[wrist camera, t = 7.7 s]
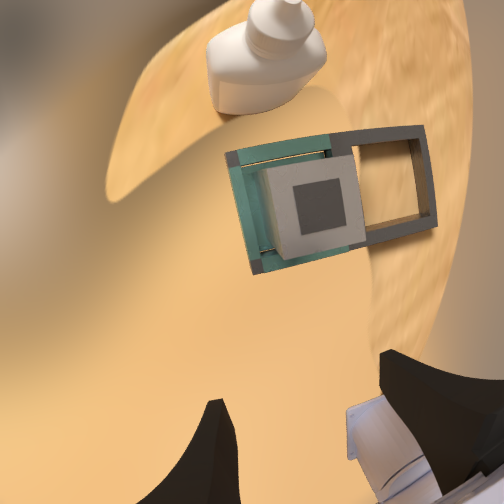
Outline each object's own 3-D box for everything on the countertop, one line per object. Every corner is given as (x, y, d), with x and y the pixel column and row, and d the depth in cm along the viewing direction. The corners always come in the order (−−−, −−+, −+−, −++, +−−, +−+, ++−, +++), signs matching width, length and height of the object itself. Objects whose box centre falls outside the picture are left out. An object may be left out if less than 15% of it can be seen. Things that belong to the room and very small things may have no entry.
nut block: (327, 224, 21) (367, 241, 15) (265, 237, 21) (284, 260, 15) (316, 160, 20) (354, 154, 14) (252, 172, 20) (266, 168, 14)
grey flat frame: (426, 223, 22) (438, 226, 20) (250, 268, 21) (253, 276, 20) (412, 127, 20) (424, 124, 19) (224, 154, 19) (224, 152, 18)
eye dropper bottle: (282, 132, 19) (360, 78, 8) (202, 109, 18) (182, 24, 7) (298, 77, 19) (377, -10, 7) (221, 55, 18) (228, -59, 6)
